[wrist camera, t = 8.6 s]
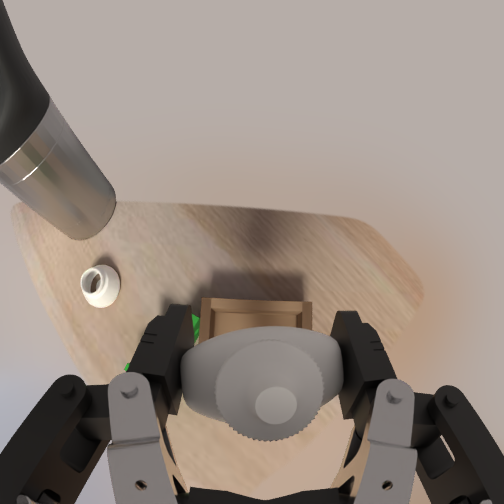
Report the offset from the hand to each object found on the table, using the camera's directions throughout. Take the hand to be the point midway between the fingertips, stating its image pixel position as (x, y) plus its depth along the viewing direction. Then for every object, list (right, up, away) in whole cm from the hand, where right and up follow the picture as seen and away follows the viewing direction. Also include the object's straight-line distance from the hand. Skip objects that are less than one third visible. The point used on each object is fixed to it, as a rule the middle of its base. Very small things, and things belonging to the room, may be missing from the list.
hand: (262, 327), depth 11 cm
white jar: (-18, -1, +19) cm, 26 cm away
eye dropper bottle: (0, -4, +5) cm, 6 cm away
